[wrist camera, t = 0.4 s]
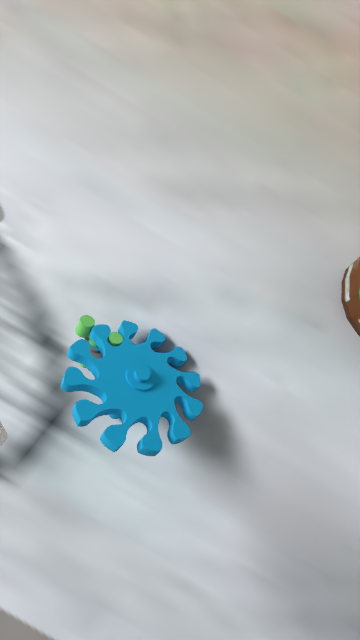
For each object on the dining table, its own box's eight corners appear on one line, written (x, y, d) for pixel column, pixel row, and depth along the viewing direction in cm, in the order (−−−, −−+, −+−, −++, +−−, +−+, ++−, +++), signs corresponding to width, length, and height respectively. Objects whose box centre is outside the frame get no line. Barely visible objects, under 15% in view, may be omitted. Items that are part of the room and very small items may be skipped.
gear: (232, 397, 24) (133, 486, 17) (193, 430, 28) (99, 514, 21) (141, 292, 27) (24, 329, 20) (117, 335, 31) (11, 379, 24)
